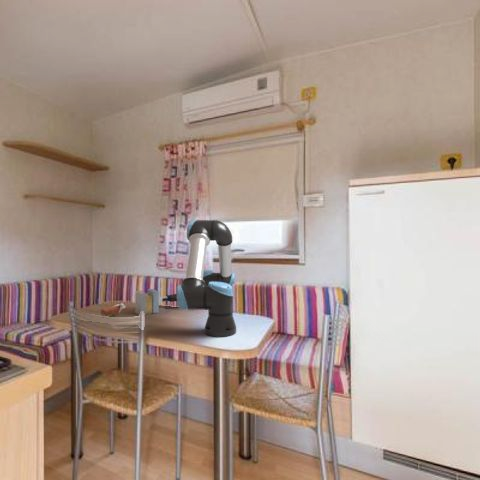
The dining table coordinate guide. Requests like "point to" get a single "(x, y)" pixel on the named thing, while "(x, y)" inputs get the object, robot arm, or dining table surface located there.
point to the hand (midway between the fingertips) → (156, 300)
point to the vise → (144, 303)
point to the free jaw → (154, 299)
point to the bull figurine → (112, 310)
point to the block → (149, 304)
